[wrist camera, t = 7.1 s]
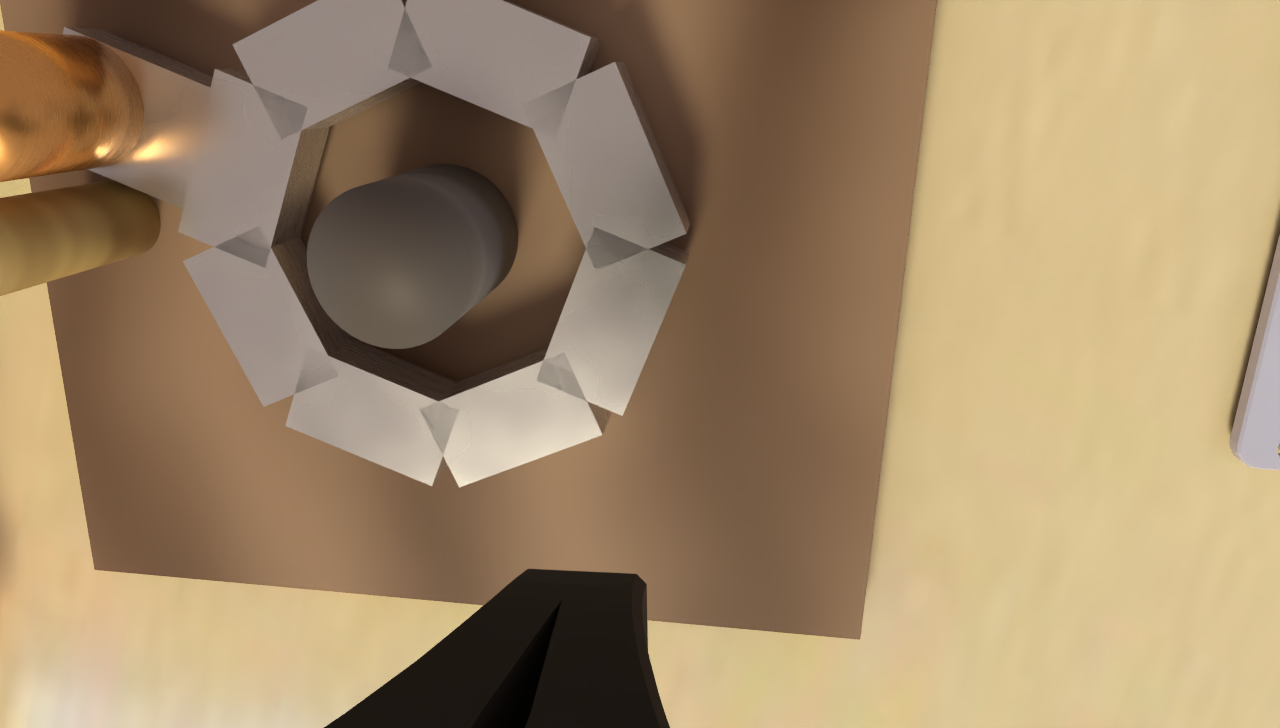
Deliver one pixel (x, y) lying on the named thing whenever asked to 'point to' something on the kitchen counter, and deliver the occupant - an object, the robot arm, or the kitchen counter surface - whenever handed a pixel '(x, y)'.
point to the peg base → (521, 323)
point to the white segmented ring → (283, 183)
